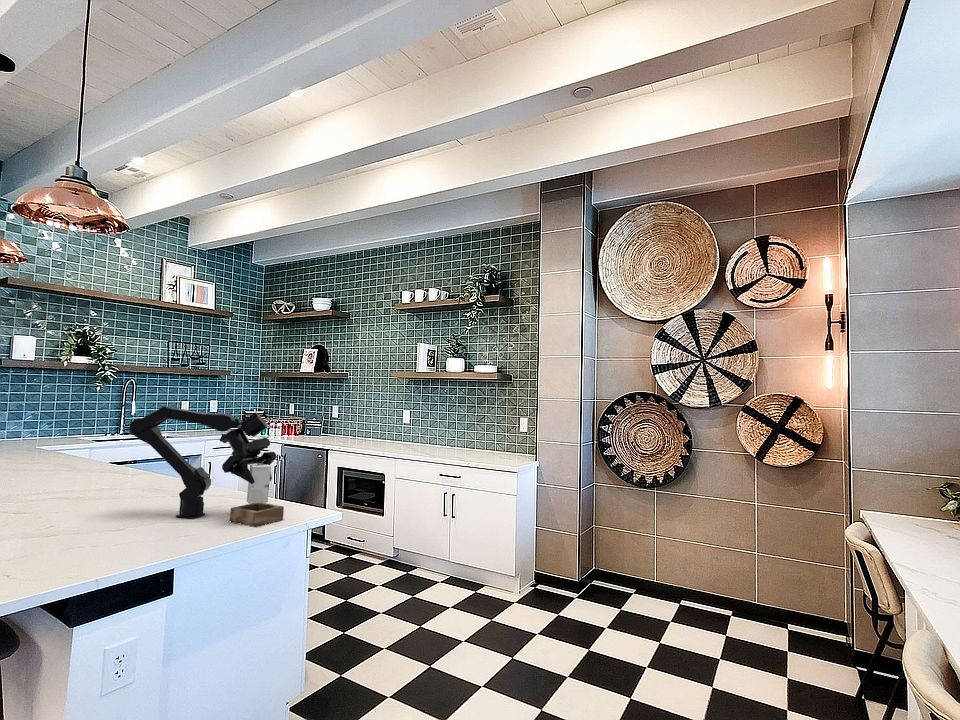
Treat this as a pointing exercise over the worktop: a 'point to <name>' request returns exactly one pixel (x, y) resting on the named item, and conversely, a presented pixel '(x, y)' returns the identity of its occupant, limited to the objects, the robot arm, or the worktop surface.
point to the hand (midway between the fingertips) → (262, 481)
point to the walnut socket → (256, 514)
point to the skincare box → (259, 484)
